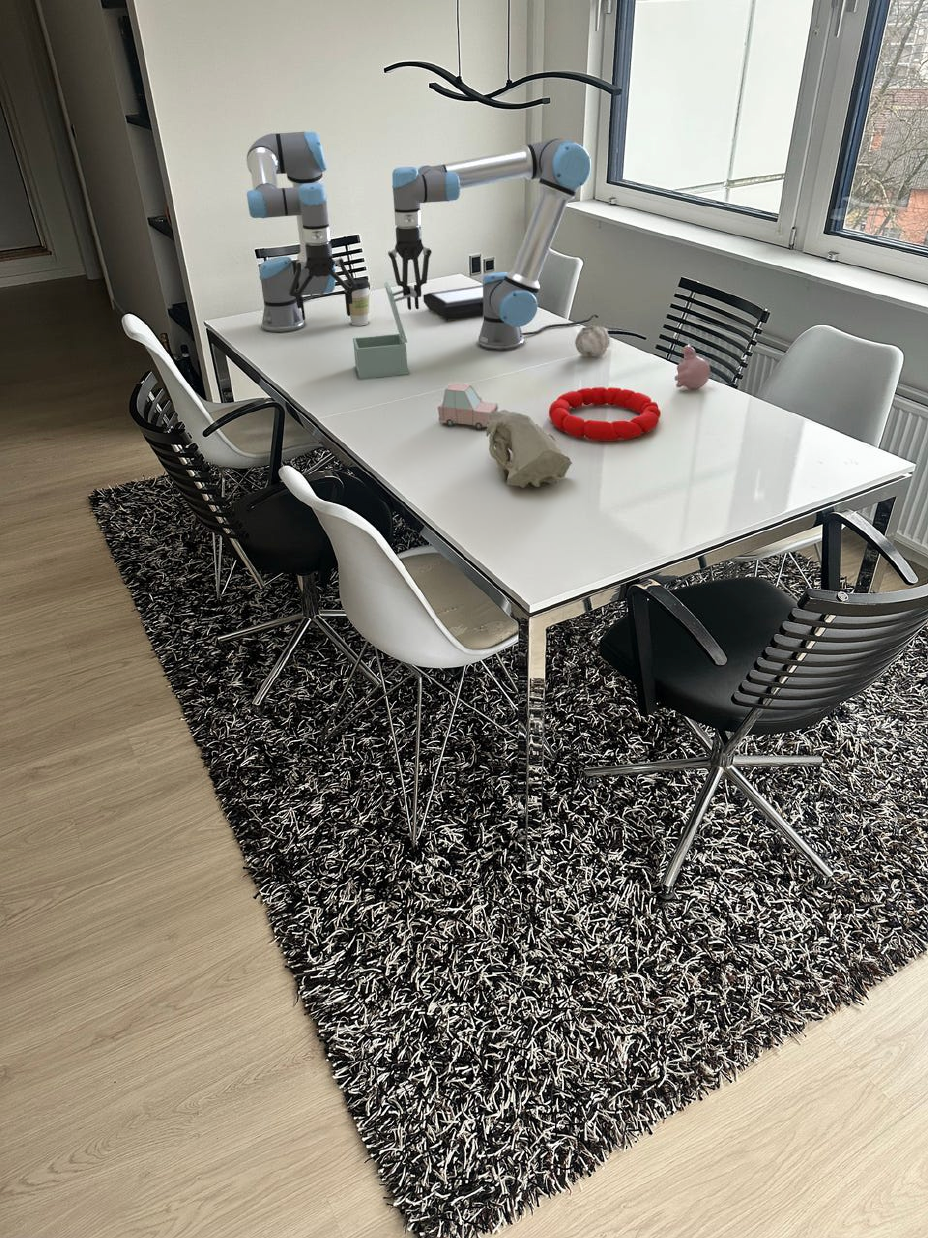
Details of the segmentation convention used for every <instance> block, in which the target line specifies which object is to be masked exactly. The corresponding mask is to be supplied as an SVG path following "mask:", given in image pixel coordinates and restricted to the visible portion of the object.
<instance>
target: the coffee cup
mask: <svg viewBox="0 0 928 1238" xmlns="http://www.w3.org/2000/svg"><path fill="white" fill-rule="evenodd" d="M351 278H352V279H353V281H354V283H355V284H356V286H357V290H356V291H353V292H352V301H353V302H352V304H349V308H350V316H349V318H350V323H351V325H353V326H357V327H359V326H365V325H368V324H369V317H370V316H369V313H370V287H371V283H370V282H369V279H367V278H365V277H351ZM343 281H344V282H345V283H346V284H347V285H348V286H349V287H351V284H350V283H349V281H348V279H347V278H346V279H345V280H343ZM343 290H344V293H345V292H347V291H346V290H345V289H344V288H343Z"/></svg>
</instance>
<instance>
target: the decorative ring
mask: <svg viewBox="0 0 928 1238" xmlns="http://www.w3.org/2000/svg"><path fill="white" fill-rule="evenodd" d="M583 405H584V406H586V407H587V406H591V405H593V406H604V405H608V406H614V407H619V408H624V409H628V410H632V411H635V412H636V413H638V414H639V415H637V416H635V417H632V418H631V419H630V420H625V419H624V420H623V419H622V420H614V421H611V422H609V421H607V420H606V421H605V420H593V419H587V420H586V421H585V419H584V418H582V417H579V416H577V415H573V414H571V413H570V410H571V409H579V408H581V407H582V406H583ZM548 416H549V419H550V422H551V423H552V425H553V426H554V427H555V428H556V429H558V430H559V431H561V432H563V433H567V434H568V435H569V436H573V437H576V438H580V439H582V438H583V437H585V438H586V439H587V440H591V441H601V442H602V441H603V442H608V441H609V442H610V441H611V442H612V441H615V442H616V441H618V440H630V439H634V438H638V437H641V436H642V434H647V433H650V432H651V431H653V430H654V429H655V428H656V427H657V426H658V424H659V422H660V421H659V420H660V417H661V410H660V408H659V405H658V403H657V402H656V401H652V399H651V397H649V396H648V395H646V394H644V393H642V392H635V391H634V390H632V389H628V388H624V389H622V388H620V387H613V386H612V387H611V386H610V387H608V388H606V387H604V386H594V387H585V388H584V387H583V388H580V389H578V390H571V391H568V392H565V393H563V394H561V395H560V396H558V397H557V398H556V400H554V401H552V403H551V404H550V407H549V409H548Z"/></svg>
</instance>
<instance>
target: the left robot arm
mask: <svg viewBox="0 0 928 1238" xmlns="http://www.w3.org/2000/svg"><path fill="white" fill-rule="evenodd" d="M246 166H247V169H248V172H249V173H250V175H251V182H252V189H248V191H246V198H247V205H248V212H249V215H250V217H251V218H253V219H267V218H281V217H295V216H296V223H297V224H296V225H297V231H298V241H299V248H300V251H299V252H298V253H297V255H296V260H294V261H293V260H292V258H291V257H290V256H277V257H272V258H270V259H267V260H264V261H263V262H261V263H260V265H259V266H258V270H259V280H260V285H261V286H260V287H261V292H262V299H263V313H262V319H261V326H262V330H264V331H265V332H271V333H286V332H293V331H296V330H297V331H298V330H300V329H302V328H304V326H305V321H306V313H305V305H304V303H305V302H307V301H310V300H312V299H313V297H314V295H324V294H331V293H333V292H334V290H335V288H336V282H337V283H338V284H339V285H340V286H341V287H342V288H343V290H344V289H345V290H346V291H347V292H345V290H344V298H345V299H344V300H345V309H346V315H347V317H350V308H349V304H352V302H353V301H352V292H353V291H356V290H357V286H356V284H355V283H354V281H353V279H352V278H353V277H352V276H351V274H350V272H349V271H348V269H347V268H346V266H345V261H344V259H343V257H339V258H337V259H334V258H333V250H332V243H331V231H330V224H329V214H328V201H327V200H328V199H327V193H326V187H325V185H324V184H322V183H320V181H321V180H322V179H323V177H324V175H323V173H324V172H326V171H327V164H326V159H325V155H324V151H323V146H322V141H321V138H320V135H319V134H318V133H317V132H316V131H305V130H303V131H294V132H293V131H291V132H280V133H277V132H274V133H268V134H265V135H263V136H261V137H259V138H258V139H257V140H255V141H254V142H253V143H252V145H251V146H250V147H249V149H248V150H247V154H246ZM278 175H286V178H287V181H288V182H290V183H291V184H292V187H279V181H278ZM336 265H337V267H338V268H340V270H341V271H342V273H343V275H344V276H345V278H346V280H347V279H348V281H349V283H350V284H351V287H349V286H348V285H347V284H346V283H345V282H344V281H345V280H343V279H342V278H341V276H339V275H338V273H337V272H336ZM303 296H310V297H308V298H305V299H303V298H304V297H303ZM300 309H301V310H300Z"/></svg>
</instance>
